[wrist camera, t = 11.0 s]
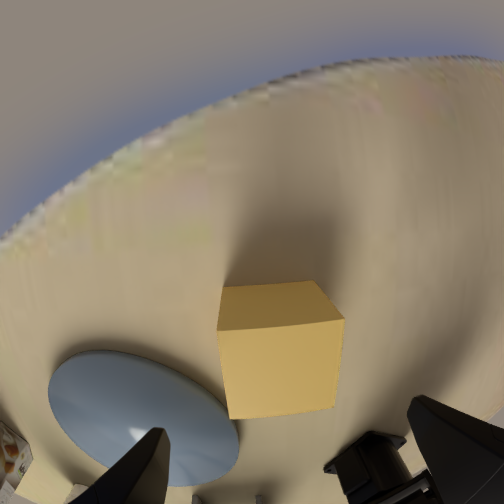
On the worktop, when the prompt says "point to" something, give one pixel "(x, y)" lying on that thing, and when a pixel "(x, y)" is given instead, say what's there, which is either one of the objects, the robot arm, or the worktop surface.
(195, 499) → the cover
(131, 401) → the dish
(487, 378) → the worktop surface
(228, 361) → the block
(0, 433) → the coffee box
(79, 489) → the white cup
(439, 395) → the worktop surface
